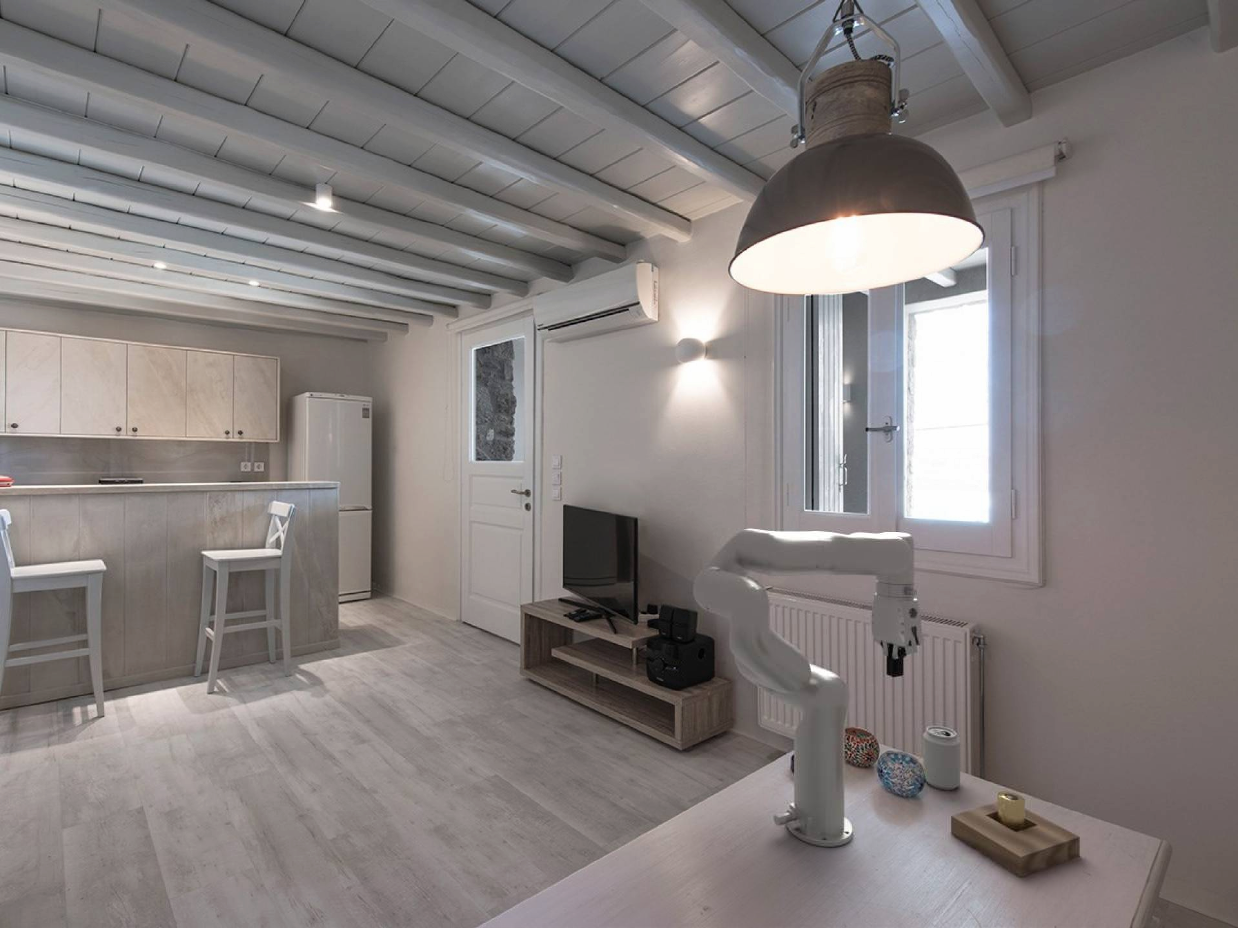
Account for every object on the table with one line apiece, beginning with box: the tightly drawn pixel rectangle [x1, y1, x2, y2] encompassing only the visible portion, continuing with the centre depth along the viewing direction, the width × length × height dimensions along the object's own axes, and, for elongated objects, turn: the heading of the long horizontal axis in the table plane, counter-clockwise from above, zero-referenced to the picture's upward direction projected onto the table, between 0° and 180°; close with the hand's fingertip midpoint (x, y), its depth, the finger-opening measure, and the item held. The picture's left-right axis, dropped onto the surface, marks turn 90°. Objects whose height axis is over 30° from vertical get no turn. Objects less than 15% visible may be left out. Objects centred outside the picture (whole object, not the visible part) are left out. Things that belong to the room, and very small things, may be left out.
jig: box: [950, 801, 1081, 878], centre depth 118 cm, size 16×14×4 cm
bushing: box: [997, 790, 1026, 832], centre depth 120 cm, size 4×4×8 cm
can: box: [922, 725, 961, 791], centre depth 141 cm, size 8×8×12 cm
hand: (894, 675), depth 134 cm, fingers closed
